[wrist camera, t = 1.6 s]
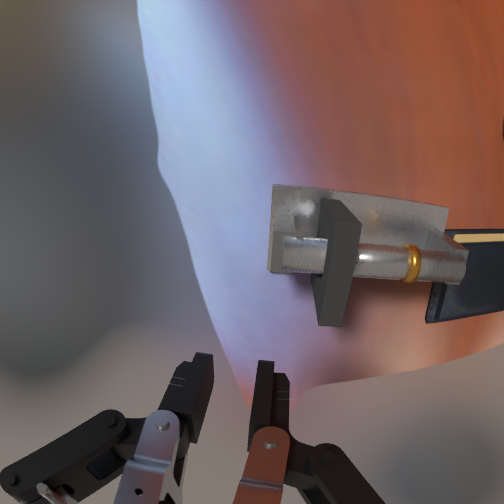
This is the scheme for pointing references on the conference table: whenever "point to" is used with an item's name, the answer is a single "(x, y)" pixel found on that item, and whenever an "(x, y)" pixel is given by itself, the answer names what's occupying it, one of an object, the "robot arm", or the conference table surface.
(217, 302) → the conference table surface
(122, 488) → the robot arm
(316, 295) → the dark grey wedge plate
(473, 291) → the wallet
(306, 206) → the pipe stand
